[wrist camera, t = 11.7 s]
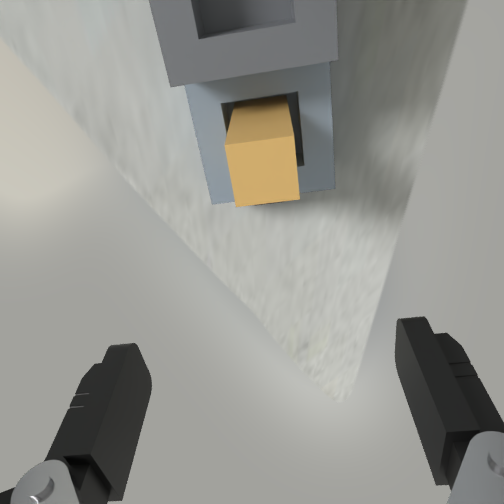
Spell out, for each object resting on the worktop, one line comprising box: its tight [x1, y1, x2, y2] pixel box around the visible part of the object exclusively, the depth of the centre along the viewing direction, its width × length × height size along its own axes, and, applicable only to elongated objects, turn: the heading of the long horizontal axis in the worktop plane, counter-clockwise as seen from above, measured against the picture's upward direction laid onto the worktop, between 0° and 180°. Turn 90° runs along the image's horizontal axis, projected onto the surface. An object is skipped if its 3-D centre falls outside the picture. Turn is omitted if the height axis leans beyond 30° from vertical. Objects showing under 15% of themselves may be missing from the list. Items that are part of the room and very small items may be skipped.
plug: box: [224, 95, 300, 207], centre depth 28 cm, size 5×4×10 cm
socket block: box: [149, 0, 338, 204], centre depth 27 cm, size 20×10×8 cm, turn 9°
